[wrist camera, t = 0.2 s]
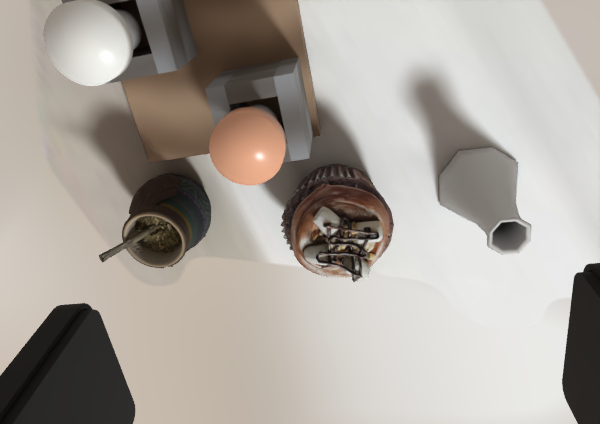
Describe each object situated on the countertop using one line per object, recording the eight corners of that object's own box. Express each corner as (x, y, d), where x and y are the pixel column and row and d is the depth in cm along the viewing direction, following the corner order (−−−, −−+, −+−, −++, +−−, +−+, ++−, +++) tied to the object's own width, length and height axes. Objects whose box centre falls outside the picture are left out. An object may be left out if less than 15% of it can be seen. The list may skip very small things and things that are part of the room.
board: (96, -26, 41) (45, -20, 34) (285, -67, 39) (274, -71, 32) (156, 155, 48) (124, 190, 41) (320, 128, 46) (317, 161, 38)
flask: (426, 209, 49) (446, 267, 40) (451, 137, 45) (478, 183, 36) (501, 224, 49) (537, 285, 40) (530, 154, 45) (577, 203, 37)
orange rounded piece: (219, 96, 37) (200, 120, 32) (284, 85, 36) (275, 107, 31) (235, 158, 39) (220, 190, 34) (297, 148, 39) (291, 179, 33)
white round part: (76, 1, 35) (30, 10, 30) (143, -14, 34) (107, -7, 29) (101, 71, 37) (62, 92, 32) (164, 59, 36) (135, 78, 31)
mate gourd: (230, 221, 51) (205, 280, 42) (162, 240, 52) (125, 301, 43) (199, 155, 48) (165, 204, 39) (128, 179, 49) (81, 230, 40)
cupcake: (288, 150, 47) (277, 197, 38) (395, 160, 47) (408, 209, 38) (283, 241, 51) (271, 302, 42) (380, 250, 51) (389, 313, 42)
